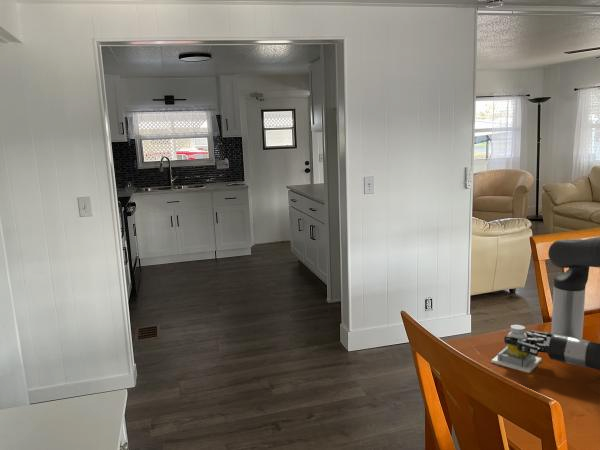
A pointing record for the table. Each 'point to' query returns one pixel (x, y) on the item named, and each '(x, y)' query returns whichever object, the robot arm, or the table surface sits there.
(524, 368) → the caddy
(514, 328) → the supplement bottle
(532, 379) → the table surface
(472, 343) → the table surface
